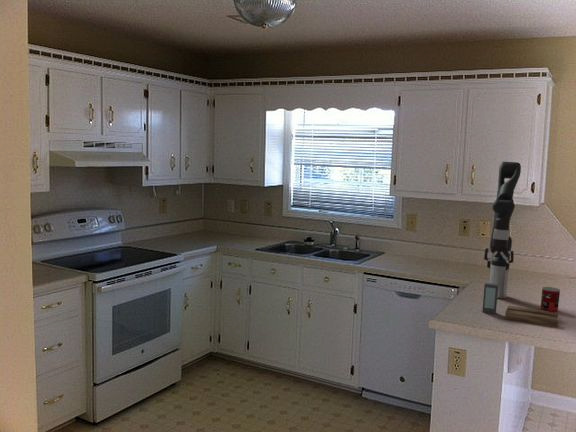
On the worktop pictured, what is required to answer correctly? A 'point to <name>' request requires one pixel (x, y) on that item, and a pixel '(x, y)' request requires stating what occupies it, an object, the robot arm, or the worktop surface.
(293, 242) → the worktop surface
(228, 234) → the worktop surface
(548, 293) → the canned food
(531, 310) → the brown grooved block
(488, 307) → the grey rectangular block
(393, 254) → the worktop surface
